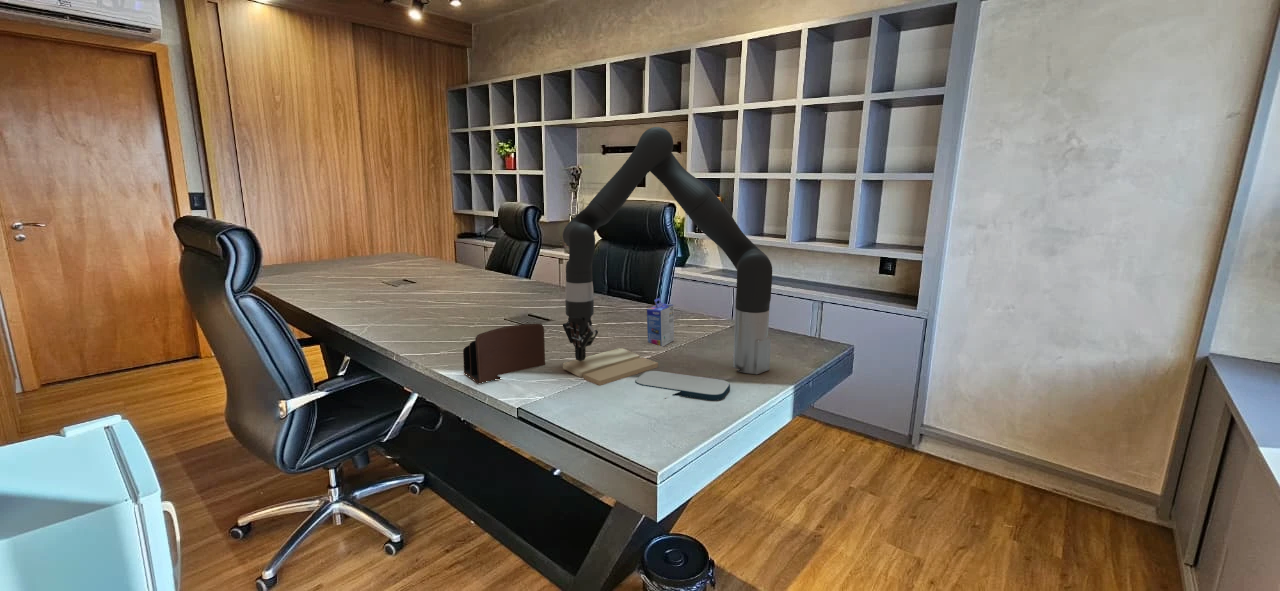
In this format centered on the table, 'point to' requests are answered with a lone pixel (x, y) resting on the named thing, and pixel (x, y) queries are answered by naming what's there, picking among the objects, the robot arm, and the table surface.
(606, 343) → the table surface
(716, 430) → the table surface
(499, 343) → the letter holder
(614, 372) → the tan rectangular board
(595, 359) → the ash plank
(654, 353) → the table surface
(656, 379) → the external hard drive
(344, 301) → the table surface
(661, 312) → the ink cartridge box
